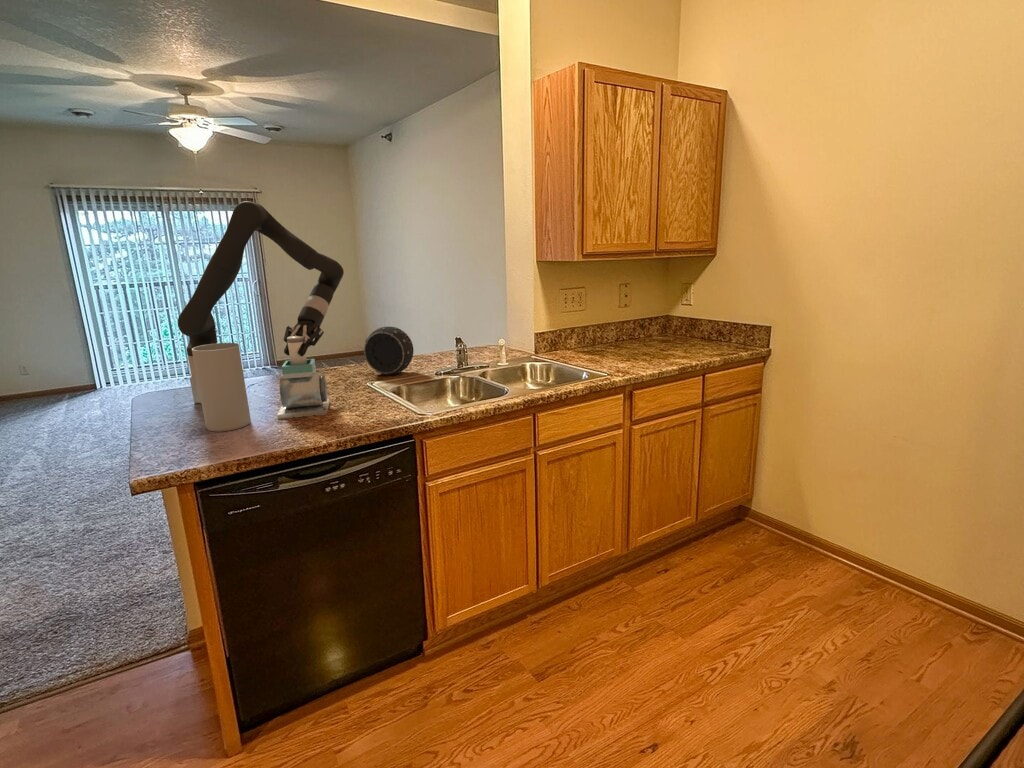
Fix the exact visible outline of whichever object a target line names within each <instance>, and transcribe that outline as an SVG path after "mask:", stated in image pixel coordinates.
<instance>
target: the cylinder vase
mask: <svg viewBox="0 0 1024 768" xmlns="http://www.w3.org/2000/svg"><path fill="white" fill-rule="evenodd" d="M192 354H193V359H194V365H195V370H196V376H197V381H198V387H199V392H200V398H201V403H200V404H201V407H202V413H203V417H204V418H203V419H204V424H205V428H206V430H208V431H210V432H215V433H217V432H218V433H219V432H220V433H222V432H230V431H235V430H240V429H242V428H244V427H247V426H248V425H250V423H251V420H252V419H251V412H250V406H249V401H248V394H247V388H246V383H245V382H246V381H245V380H246V379H245V375H244V368H243V362H242V356H241V350H240V343H236V342H217V343H216V344H208V345H202V346H197V347H194V348H192Z"/></svg>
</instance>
